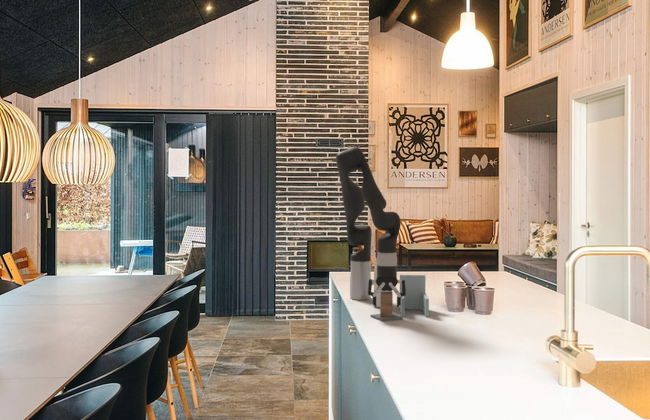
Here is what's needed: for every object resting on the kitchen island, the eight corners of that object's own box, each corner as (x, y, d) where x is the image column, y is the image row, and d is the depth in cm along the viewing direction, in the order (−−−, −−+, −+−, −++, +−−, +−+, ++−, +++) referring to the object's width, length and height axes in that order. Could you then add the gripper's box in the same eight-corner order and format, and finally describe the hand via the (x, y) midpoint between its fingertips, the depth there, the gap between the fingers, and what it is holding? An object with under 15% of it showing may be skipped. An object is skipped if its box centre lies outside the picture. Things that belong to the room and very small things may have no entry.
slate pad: (370, 316, 218) (370, 314, 218) (390, 314, 222) (390, 312, 222) (382, 321, 210) (382, 319, 210) (403, 319, 214) (403, 317, 214)
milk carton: (390, 308, 236) (391, 262, 235) (373, 307, 237) (373, 262, 237) (392, 304, 243) (392, 260, 242) (375, 304, 244) (375, 260, 244)
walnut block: (380, 314, 219) (380, 291, 219) (392, 314, 218) (392, 291, 218) (380, 317, 214) (380, 293, 214) (392, 317, 214) (392, 293, 214)
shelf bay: (399, 308, 235) (399, 274, 235) (424, 308, 234) (425, 275, 234) (401, 316, 219) (401, 280, 219) (428, 317, 218) (428, 280, 218)
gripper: (368, 265, 213) (367, 308, 213) (406, 265, 211) (406, 308, 212) (368, 262, 220) (368, 304, 220) (405, 263, 219) (404, 305, 219)
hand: (386, 306), depth 216 cm, fingers open, 8 cm apart
